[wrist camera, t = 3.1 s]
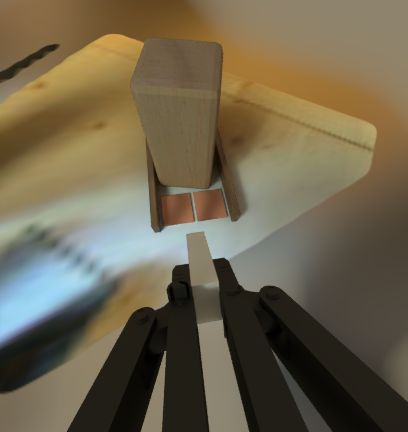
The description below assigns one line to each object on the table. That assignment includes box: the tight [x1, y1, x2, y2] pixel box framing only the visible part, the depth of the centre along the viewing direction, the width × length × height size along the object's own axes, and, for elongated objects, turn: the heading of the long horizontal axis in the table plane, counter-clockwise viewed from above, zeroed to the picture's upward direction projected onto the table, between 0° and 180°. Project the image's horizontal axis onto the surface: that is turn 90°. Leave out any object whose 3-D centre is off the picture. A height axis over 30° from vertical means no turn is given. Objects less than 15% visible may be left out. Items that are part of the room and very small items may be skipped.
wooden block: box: [131, 37, 223, 189], centre depth 31 cm, size 10×10×20 cm
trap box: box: [146, 129, 240, 233], centre depth 40 cm, size 15×38×6 cm, turn 10°
